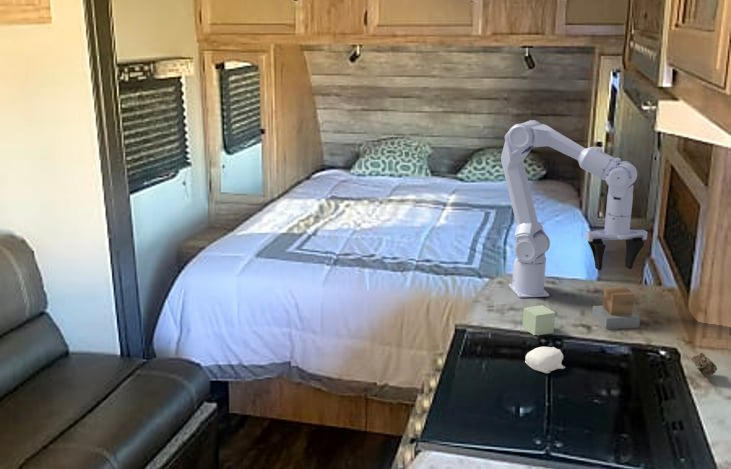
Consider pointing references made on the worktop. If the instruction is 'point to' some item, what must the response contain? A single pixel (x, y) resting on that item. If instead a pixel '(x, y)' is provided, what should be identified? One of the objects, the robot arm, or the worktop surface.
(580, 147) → the robot arm
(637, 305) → the worktop surface
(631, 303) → the walnut cube
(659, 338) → the worktop surface
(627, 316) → the slate tile
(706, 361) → the rock
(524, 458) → the worktop surface
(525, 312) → the sage cube
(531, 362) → the white frog figurine
